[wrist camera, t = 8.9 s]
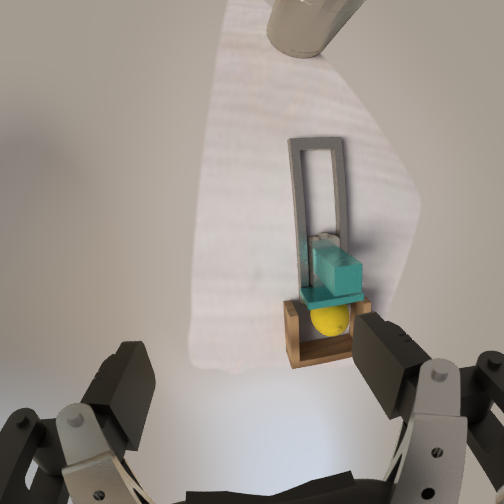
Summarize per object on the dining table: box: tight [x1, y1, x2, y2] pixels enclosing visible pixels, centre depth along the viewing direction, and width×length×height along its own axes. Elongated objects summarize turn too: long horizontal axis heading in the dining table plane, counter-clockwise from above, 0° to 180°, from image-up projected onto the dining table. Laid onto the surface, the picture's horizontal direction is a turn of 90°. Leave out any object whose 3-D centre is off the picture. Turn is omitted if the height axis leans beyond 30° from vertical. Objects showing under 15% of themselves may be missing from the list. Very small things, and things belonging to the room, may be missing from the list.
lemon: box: [310, 304, 350, 336], centre depth 39 cm, size 6×6×8 cm
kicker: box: [300, 233, 364, 310], centre depth 36 cm, size 8×8×10 cm
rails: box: [287, 137, 348, 304], centre depth 39 cm, size 24×7×2 cm, turn 6°
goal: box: [283, 296, 371, 369], centre depth 42 cm, size 9×12×5 cm
